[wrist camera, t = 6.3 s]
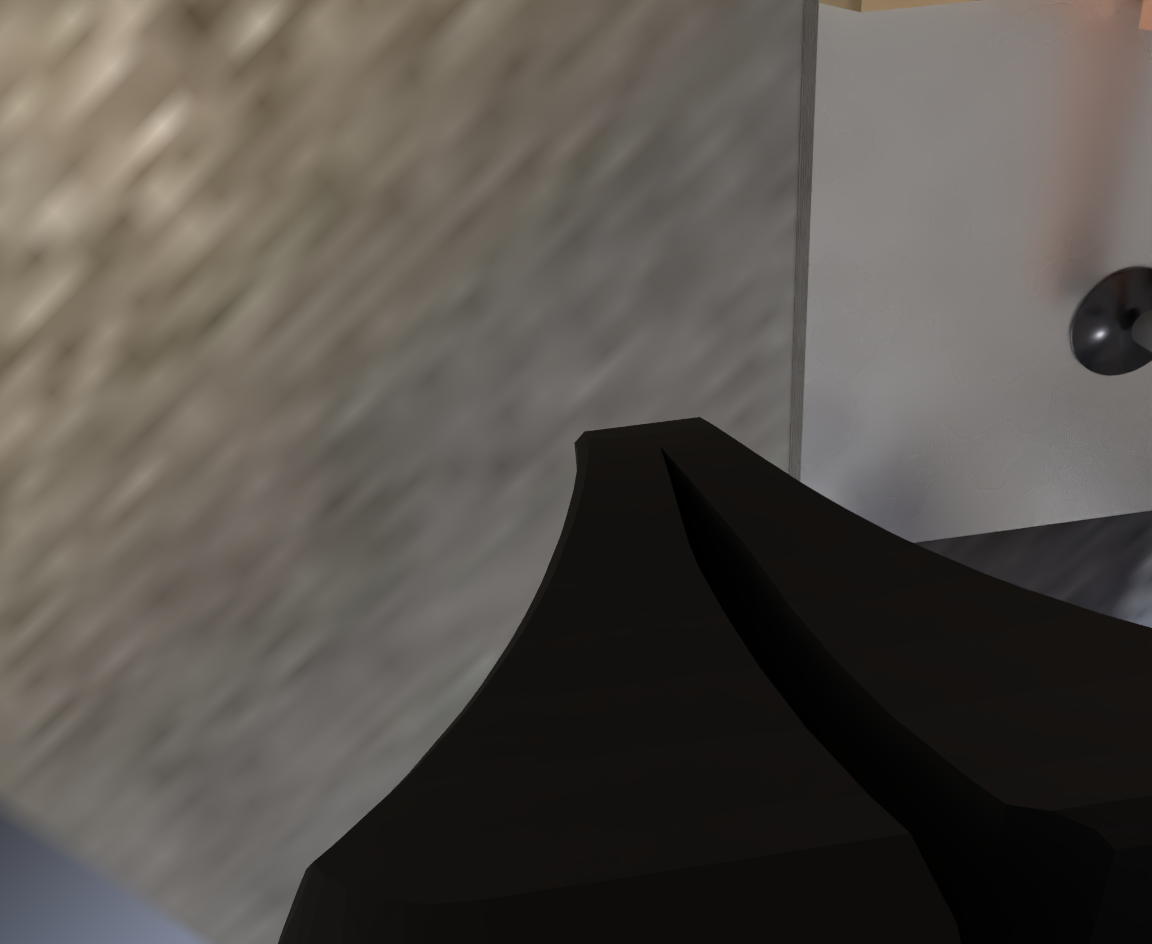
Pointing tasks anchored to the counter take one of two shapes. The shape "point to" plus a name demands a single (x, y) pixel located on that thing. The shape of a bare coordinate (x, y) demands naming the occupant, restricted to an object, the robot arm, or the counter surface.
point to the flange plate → (974, 264)
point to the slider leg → (1148, 327)
